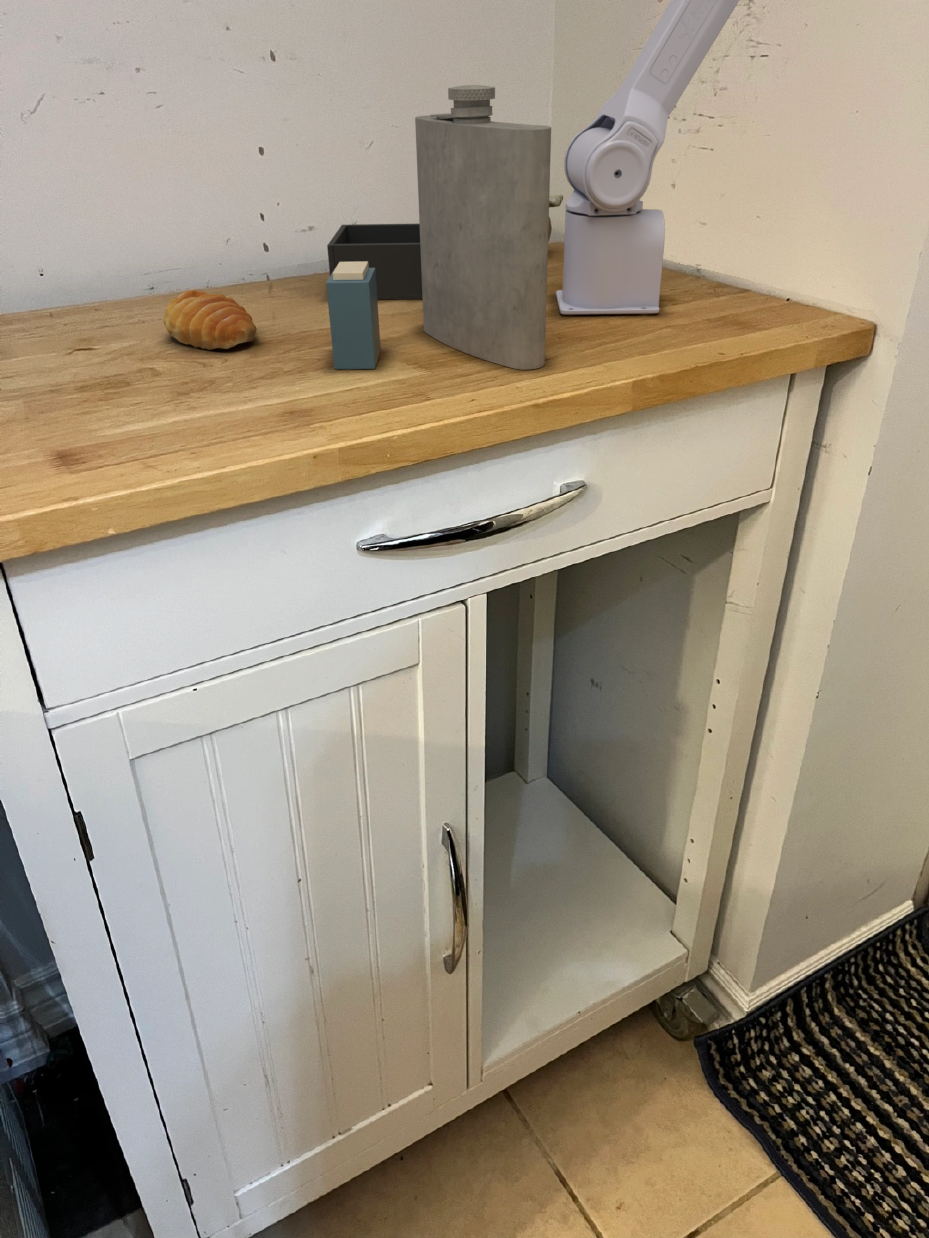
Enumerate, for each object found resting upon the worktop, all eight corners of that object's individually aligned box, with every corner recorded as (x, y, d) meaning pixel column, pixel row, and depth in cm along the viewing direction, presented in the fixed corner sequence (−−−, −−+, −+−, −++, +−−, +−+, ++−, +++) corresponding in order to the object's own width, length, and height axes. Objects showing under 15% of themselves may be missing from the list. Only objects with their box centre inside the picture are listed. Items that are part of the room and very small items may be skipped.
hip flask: (552, 364, 78) (561, 88, 67) (513, 374, 76) (516, 91, 65) (445, 323, 89) (438, 80, 78) (409, 331, 87) (396, 83, 76)
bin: (470, 273, 106) (470, 222, 103) (469, 298, 97) (468, 243, 94) (345, 275, 106) (341, 224, 103) (332, 300, 97) (327, 245, 94)
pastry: (277, 342, 84) (271, 299, 82) (212, 360, 81) (204, 315, 78) (220, 323, 90) (214, 282, 88) (157, 339, 86) (149, 296, 84)
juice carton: (380, 351, 82) (375, 260, 78) (375, 369, 77) (368, 273, 73) (342, 351, 82) (334, 260, 78) (334, 369, 78) (325, 274, 73)
